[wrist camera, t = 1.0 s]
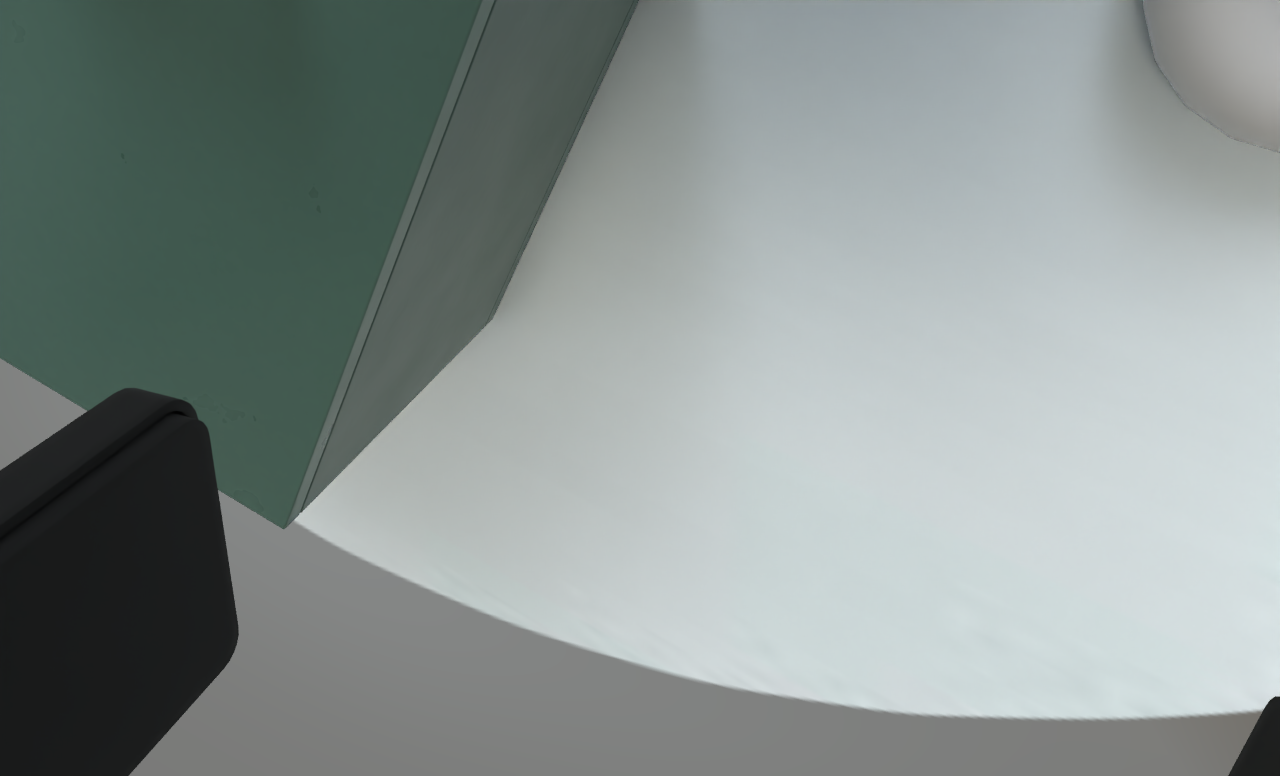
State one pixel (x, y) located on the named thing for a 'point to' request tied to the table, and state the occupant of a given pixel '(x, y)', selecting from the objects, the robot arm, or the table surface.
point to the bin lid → (217, 204)
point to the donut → (1222, 62)
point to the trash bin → (477, 204)
